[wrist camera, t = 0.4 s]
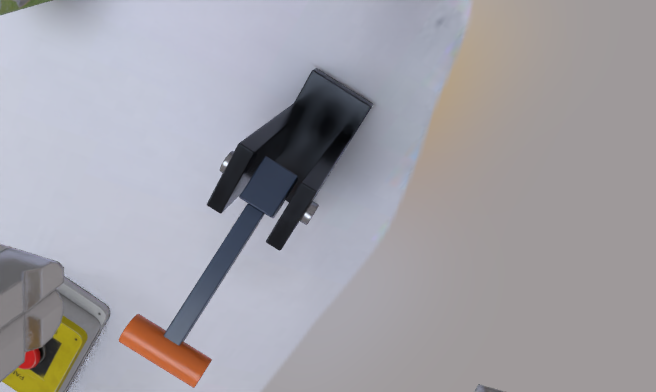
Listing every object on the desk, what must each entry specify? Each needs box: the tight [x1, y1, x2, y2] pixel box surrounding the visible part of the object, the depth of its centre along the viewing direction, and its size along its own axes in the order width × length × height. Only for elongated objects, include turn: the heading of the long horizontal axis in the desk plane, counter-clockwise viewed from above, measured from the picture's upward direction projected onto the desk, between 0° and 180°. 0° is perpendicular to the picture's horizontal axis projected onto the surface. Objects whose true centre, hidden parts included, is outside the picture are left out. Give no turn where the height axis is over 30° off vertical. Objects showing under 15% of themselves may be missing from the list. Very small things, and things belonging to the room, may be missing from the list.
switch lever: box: [119, 156, 298, 388], centre depth 31 cm, size 13×5×2 cm, turn 150°
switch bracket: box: [207, 68, 373, 250], centre depth 36 cm, size 10×6×13 cm, turn 150°
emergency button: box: [2, 277, 110, 392], centre depth 53 cm, size 9×4×15 cm
